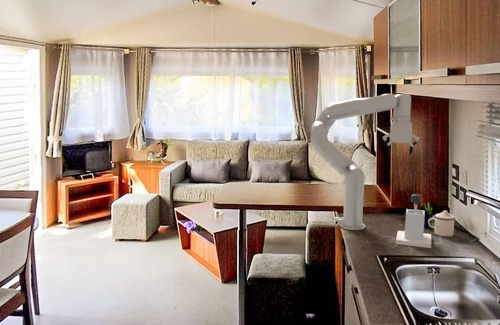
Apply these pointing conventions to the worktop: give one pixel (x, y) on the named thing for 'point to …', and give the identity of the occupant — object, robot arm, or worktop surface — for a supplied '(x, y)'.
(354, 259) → the worktop surface
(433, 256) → the worktop surface
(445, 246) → the worktop surface
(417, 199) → the plunger
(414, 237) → the stand
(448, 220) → the teacup with lid
